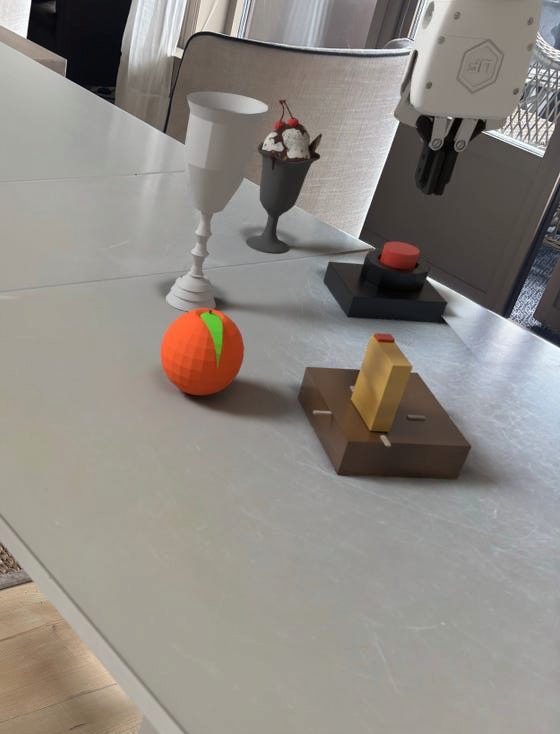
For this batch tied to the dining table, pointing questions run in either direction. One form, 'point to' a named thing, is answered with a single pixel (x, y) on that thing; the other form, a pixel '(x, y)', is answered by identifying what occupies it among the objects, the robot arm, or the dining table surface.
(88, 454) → the dining table surface
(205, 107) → the chalice
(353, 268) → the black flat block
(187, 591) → the dining table surface
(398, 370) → the thumbturn
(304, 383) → the plate
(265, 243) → the sundae
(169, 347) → the clementine
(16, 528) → the dining table surface
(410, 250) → the bell button
